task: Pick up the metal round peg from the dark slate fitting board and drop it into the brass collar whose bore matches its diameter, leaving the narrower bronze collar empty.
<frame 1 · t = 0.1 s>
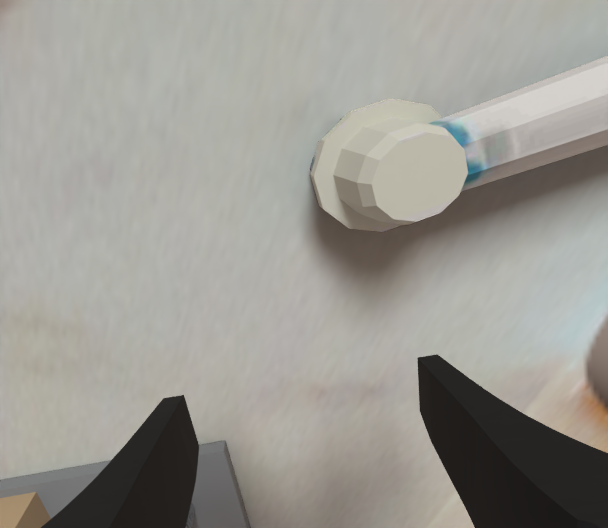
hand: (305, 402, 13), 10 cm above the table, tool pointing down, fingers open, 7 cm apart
toothbrush head: (560, 97, 21), on the table
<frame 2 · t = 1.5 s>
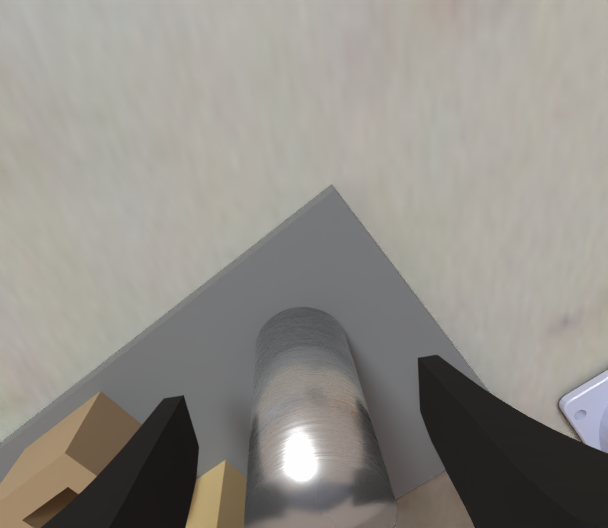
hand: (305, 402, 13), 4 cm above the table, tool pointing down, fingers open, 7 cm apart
metal round peg: (301, 347, 16), point 1 cm above the table, touching fitting board
fitting board: (253, 434, 18), on the table
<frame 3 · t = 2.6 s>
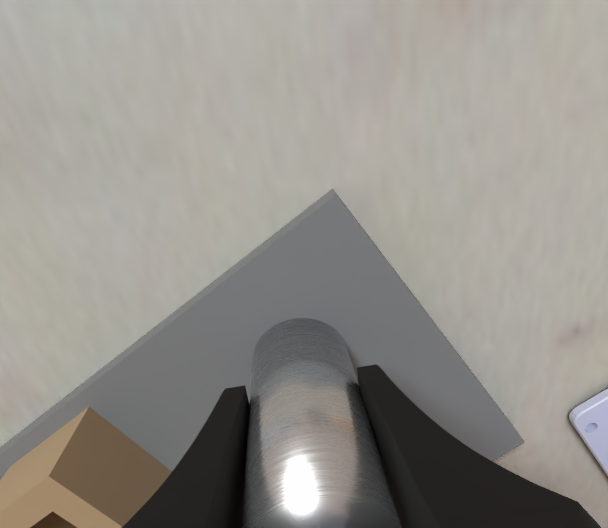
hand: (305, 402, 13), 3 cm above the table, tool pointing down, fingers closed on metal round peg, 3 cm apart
metal round peg: (300, 360, 15), point 1 cm above the table, touching fitting board, gripper
fitting board: (250, 449, 18), on the table
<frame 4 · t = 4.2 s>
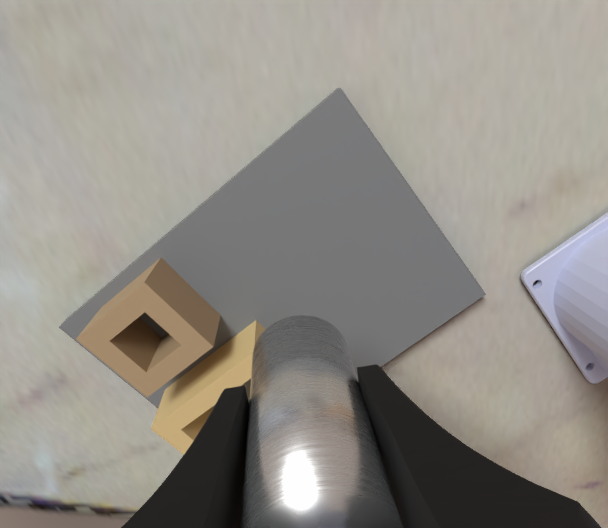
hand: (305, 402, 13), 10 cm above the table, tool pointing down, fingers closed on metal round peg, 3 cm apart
metal round peg: (300, 357, 15), point 8 cm above the table, touching gripper
fitting board: (277, 303, 23), on the table
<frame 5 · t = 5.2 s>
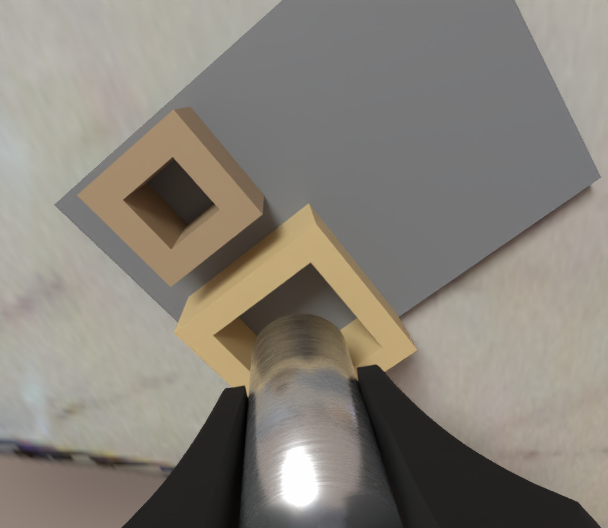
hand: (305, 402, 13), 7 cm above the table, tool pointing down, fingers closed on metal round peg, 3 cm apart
metal round peg: (299, 356, 15), point 5 cm above the table, touching gripper
fitting board: (334, 186, 18), on the table
when the fingers open (4 cm above the table, at t = 6.0 s): metal round peg drops 1 cm, resting on fitting board.
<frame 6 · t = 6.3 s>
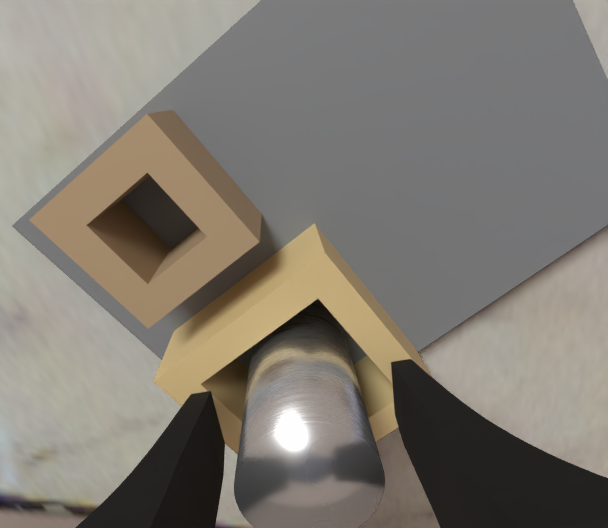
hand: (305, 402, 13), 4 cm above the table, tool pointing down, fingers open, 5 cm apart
metal round peg: (298, 337, 16), point 1 cm above the table, touching fitting board
fitting board: (344, 202, 15), on the table
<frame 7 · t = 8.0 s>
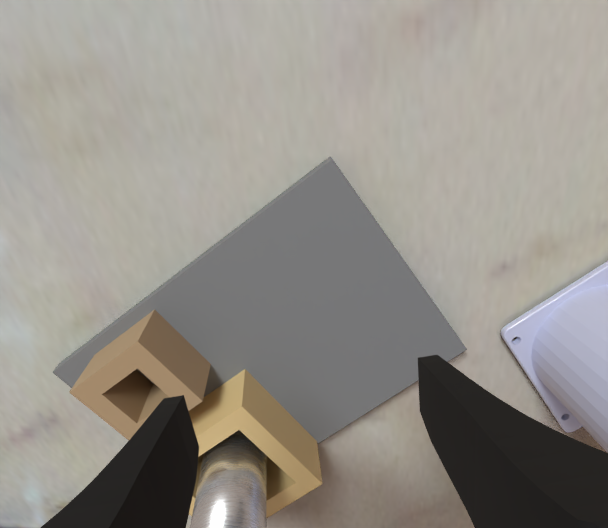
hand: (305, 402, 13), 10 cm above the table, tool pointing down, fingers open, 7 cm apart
metal round peg: (237, 434, 25), point 1 cm above the table, touching fitting board
fitting board: (266, 352, 24), on the table
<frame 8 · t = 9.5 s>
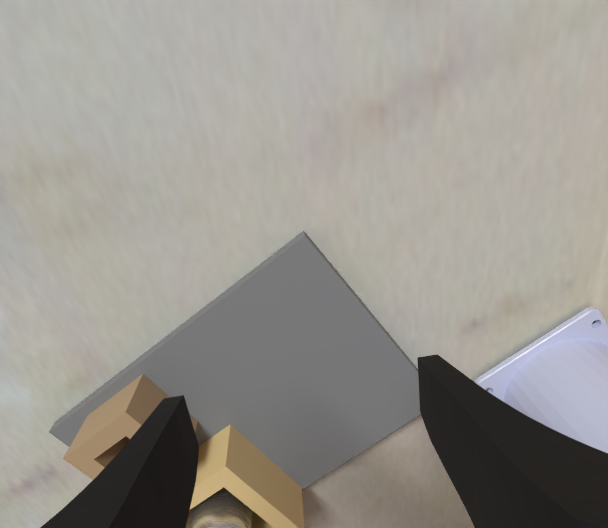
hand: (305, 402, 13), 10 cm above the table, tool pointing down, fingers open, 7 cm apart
metal round peg: (225, 483, 26), point 1 cm above the table, touching fitting board
fitting board: (250, 406, 25), on the table
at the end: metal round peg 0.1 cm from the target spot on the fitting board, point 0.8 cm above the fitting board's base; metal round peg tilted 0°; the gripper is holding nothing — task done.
